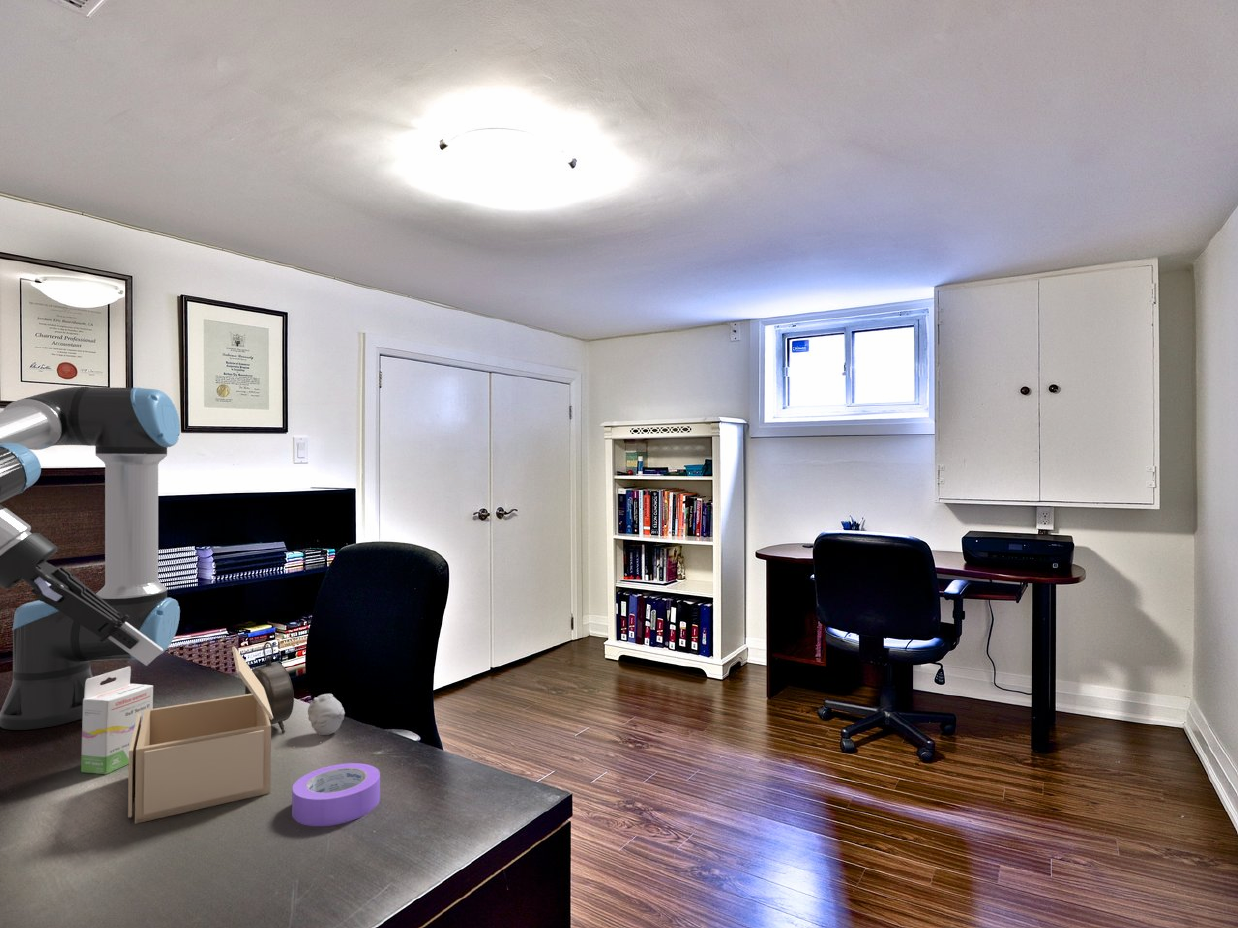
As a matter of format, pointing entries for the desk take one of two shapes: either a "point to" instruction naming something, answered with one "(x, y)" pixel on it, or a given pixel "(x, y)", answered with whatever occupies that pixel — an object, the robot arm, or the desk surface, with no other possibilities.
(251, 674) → the flap
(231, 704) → the carton
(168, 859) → the desk surface
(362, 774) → the masking tape
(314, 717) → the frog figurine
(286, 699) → the alarm clock
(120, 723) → the ink box
